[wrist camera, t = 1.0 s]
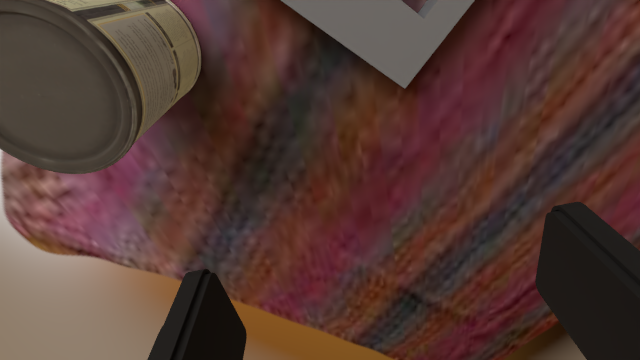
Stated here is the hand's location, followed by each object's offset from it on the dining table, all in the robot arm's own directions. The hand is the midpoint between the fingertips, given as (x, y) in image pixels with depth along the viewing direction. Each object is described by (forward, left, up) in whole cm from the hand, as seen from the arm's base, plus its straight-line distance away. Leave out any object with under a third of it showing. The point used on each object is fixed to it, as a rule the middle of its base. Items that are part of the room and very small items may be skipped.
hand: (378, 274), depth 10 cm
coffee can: (+8, -15, -26) cm, 32 cm away
